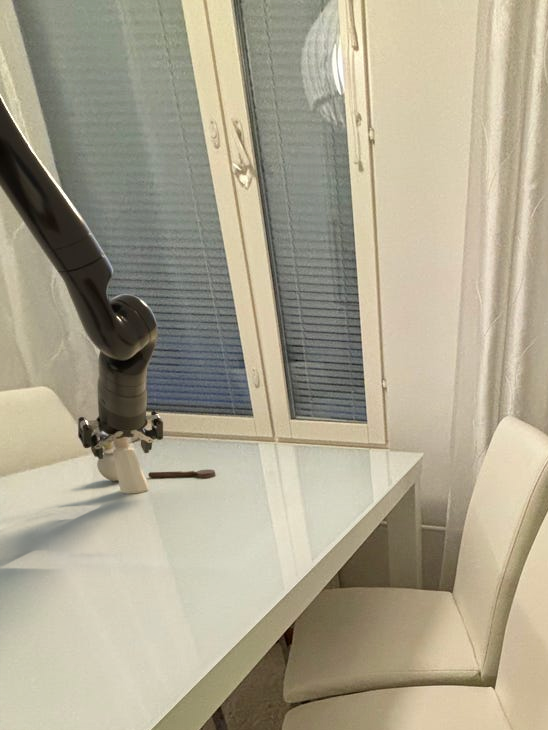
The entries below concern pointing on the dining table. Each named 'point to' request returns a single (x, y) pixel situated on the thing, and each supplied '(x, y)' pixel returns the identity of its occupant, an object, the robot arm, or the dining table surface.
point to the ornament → (108, 463)
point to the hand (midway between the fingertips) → (122, 452)
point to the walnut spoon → (183, 474)
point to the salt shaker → (128, 468)
